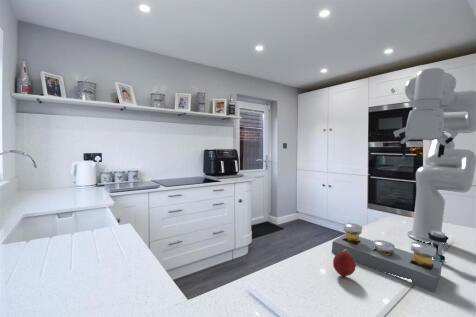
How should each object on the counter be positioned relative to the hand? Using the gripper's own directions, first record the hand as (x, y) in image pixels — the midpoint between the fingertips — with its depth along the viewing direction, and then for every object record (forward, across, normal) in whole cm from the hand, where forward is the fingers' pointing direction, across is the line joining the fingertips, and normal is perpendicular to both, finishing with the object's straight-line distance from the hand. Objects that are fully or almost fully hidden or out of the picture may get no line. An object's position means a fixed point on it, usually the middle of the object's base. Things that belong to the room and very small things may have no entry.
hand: (420, 156), depth 80 cm
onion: (+36, +14, +32) cm, 50 cm away
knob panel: (+36, +6, +13) cm, 39 cm away
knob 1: (+32, +16, +12) cm, 38 cm away
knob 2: (+32, -3, +15) cm, 36 cm away
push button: (+36, -7, -2) cm, 37 cm away
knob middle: (+35, +7, +13) cm, 38 cm away
